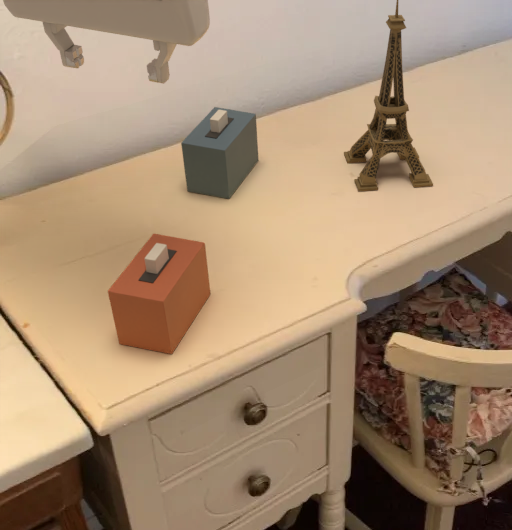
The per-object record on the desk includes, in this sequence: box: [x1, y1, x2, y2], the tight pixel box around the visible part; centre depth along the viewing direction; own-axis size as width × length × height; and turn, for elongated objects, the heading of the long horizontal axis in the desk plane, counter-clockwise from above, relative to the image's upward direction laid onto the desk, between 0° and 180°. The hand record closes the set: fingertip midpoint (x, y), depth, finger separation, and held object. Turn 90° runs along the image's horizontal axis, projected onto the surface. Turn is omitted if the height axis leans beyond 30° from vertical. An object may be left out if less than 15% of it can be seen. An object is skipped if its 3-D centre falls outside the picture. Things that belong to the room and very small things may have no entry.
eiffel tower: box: [343, 0, 434, 192], centre depth 109 cm, size 11×11×25 cm
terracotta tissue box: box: [107, 233, 211, 355], centre depth 89 cm, size 11×6×9 cm, turn 167°
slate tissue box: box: [180, 106, 259, 200], centre depth 112 cm, size 11×6×9 cm, turn 166°
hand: (116, 73), depth 84 cm, fingers open, 8 cm apart
